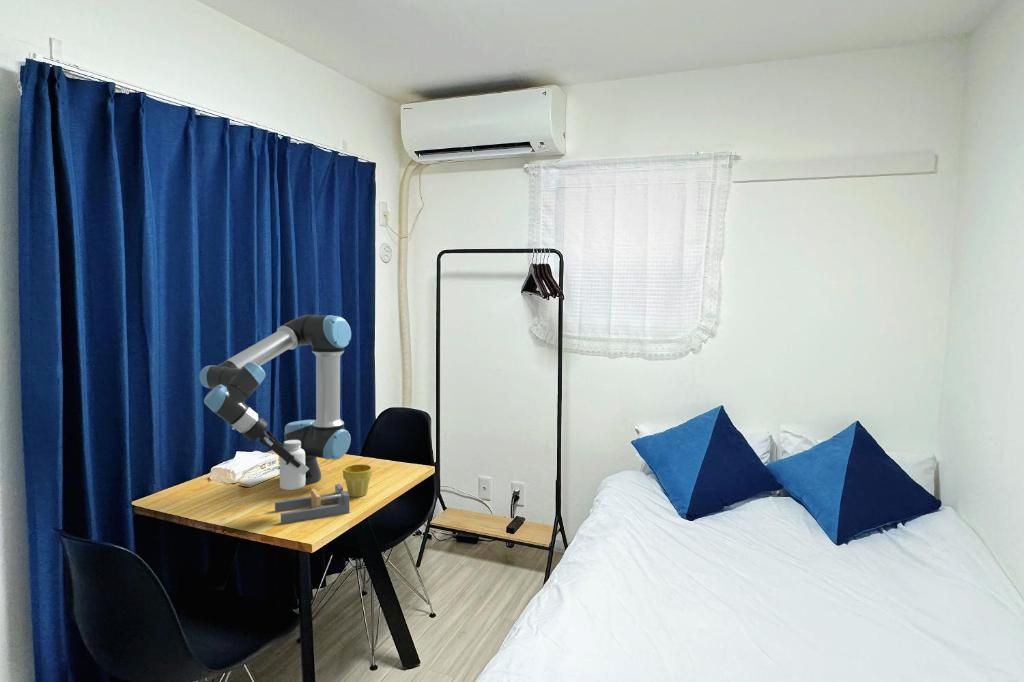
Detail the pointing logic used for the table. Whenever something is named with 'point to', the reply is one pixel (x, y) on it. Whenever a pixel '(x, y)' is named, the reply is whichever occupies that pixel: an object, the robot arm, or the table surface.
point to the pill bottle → (289, 474)
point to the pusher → (319, 498)
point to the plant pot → (357, 479)
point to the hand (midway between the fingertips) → (303, 468)
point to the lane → (313, 513)
